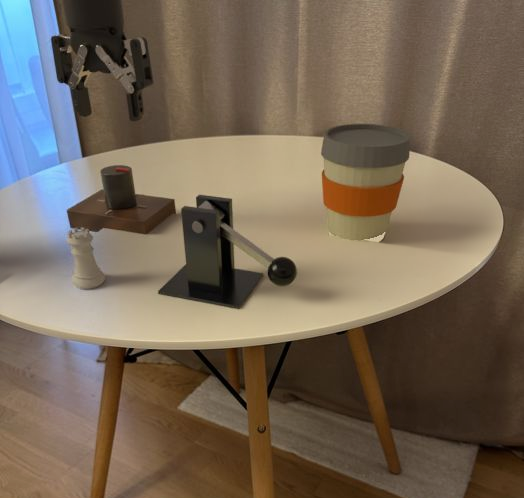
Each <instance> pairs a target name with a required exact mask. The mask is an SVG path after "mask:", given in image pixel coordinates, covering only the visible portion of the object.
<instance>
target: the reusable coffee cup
mask: <svg viewBox="0 0 524 498" xmlns="http://www.w3.org/2000/svg"><path fill="white" fill-rule="evenodd" d="M410 147H411V135H410V134H409V132H407V131H406V130H403V129H401V128H398V127H393V126H389V125H384V124H378V123H377V124H375V123H349V124H348V123H347V124H341V125H339V124H338V125H336V126H332V127H330V128H328V129H325V130H324V133H323V138H322V145H321V151H320V155H321V157H322V158H323V169H322V171H321V184H322V185H321V186H322V201H323V204H324V206H325V207H326V222H327V225H326V226H327V232H328V231H329V232H330V233H331V234H332V235H334V236H333V237H336V236H337V237H336V238H340V239H343V240H347V239H349V240H348V241H354V240H364V239H370V238H374V237H377V236H379V235H382V234H383V233H384V232H386V233H387V231H388V227H389V224H390V221H391V216H392V213H393V211H395V209H397V204H398V202H399V199H400V194H401V191H402V188H403V184H404V180H405V175H404V170H405V167H406V166H405V165H406V163H407V161H409V159H410V152H411V151H410V149H411V148H410ZM386 230H387V231H386Z"/></svg>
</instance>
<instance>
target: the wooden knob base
mask: <svg viewBox="0 0 524 498" xmlns="http://www.w3.org/2000/svg"><path fill="white" fill-rule="evenodd" d="M135 195H136V202H137V203H136V205H135V206H133V207H130V208H127V209H111V208H108V207H107V206H106V201H105V195H104V190H103V188H102V189H100V190H98V191H97V192H95V193H93V194H91V195H90V196H88V197H86V198H84V199H83V200H81V201H79V202H78V203H76V204H74V205H73V206H71V207H70V208H67V209H66V214H67V219H68V224H69V227H70V228H71V229H74V228H77V229H78V230H81V227H82V228H85V229H88V230H89V232H95V233H96V232H97V233H98V232H100V231H101V230H102V229H107V230H114V231H120V232H128V233H133V234H140V235H148V234H149V233H150V232H151V231H153V230H154V229H156V227H157V226H159V225H160V224H162V223H163V222H164V221H166V220H167V219H168V218H169V217H171V216H172V215H173V214H174V215H176V214H177V210H176V200H175V198H168V197H163V196H162V197H161V196H154V195H147V194H141V193H140V194H139V193H135Z"/></svg>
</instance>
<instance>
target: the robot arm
mask: <svg viewBox="0 0 524 498" xmlns="http://www.w3.org/2000/svg"><path fill="white" fill-rule="evenodd" d="M61 3H62V8H63V14H64V18H65V24H66V26H67V27H68V28H69V33H70V34H69V36H68V34H66V33H60V34H56V35H52V36H51V38H50V43H51V50H52V55H53V56H52V57H53V63H54V68H55V75H56V79H57V82H58V83H59V84H65V85H66V86H68V87H69V88H70V89H71V92H72V97H73V101H74V108H75V110H76V112H77V113H78V115H79V117H81V118H86V117H89V116H91V115H92V113H93V110H92V106H91V100H90V95H89V89H88V87H87V86H86V84H87V81H88V79H89V76H90V75H91V74H92V73H97V72H98V73H99V72H100V73H103V74H112V75H113V77H114V78H115V80H117V81H119V82H120V83H121V85H122V86H123V87H124V90H126V93H125V97H126V102H127V110H128V116H129V117H128V118H129V121H130V122H138V121H140V120H142V118H143V116H144V114H145V108H144V101H143V90H145V89H147V88H149V87H151V86H153V85H154V78H153V77H154V76H153V71H152V63H151V58H150V52H149V51H150V50H149V44H148V39H146V37H144V36H140V37H137V38H132V39H131V38H130V39H128V38H127V37H126V35H125V31H124V26H125V18H124V17H125V16H124V10H123V3H122V0H61ZM72 51H73V52H74V53H75V55H76V57H75V60H74V62H73V58H72ZM127 52H128V55H129V56H130V57H131V60H132V64H131V62H130V61H129V59H128V58H127V57H126V55H127Z"/></svg>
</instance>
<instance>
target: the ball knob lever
mask: <svg viewBox="0 0 524 498" xmlns="http://www.w3.org/2000/svg"><path fill="white" fill-rule="evenodd" d="M198 208H204V209H211V210H218V211H219V222H220V234H221V235H222V236H224V237H225V238H226V239H228V240H229V241H231V242H232V243H233V244H234V246H236V247H237V248H239V249H240V250H241V251H243V252H244V253H246V254H247V255H248V256H250V257H251V258H253V259H254V260H255V261H256V262H258V263H260V264H261V265H263V266H264V267H265V268H266V269H267V270H266V271H267V272H266V273H267V277H268V280H269V281H270V282H271V283H272V284H273V285H274V286H276V287H281V288H283V287H288V286H290V285H291V284H293V283H294V282H295V280H296V278H297V275H298V268H297V265H296V263H295V262H294V261H293V260H292V259H291V258H289V257H287V256H278V257H275V258H273V257H272V256H271V255H269V254H268V253H267V252H266V251H264V250H263V249H261V248H260V247H258V246H257V245H256V244H254V243H253V242H252V241H250V240H249V239H247V238H246V237H245V236H244V235H242V234H240V233H239V232H238V231H237V230H235V229H234V228H233V229H232V228H231V227H229V226H228V225H227V224H225V223H224V222H223V221H222V219H223V217H224V215H225V214H224V213H223V212H221V211H220V210H219V209H217V208H216V207H215V206H213V205H212V204H210V203H209V202H208V201H205V202H204V203H203V204H201V205H200V206H199V207H198Z"/></svg>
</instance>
